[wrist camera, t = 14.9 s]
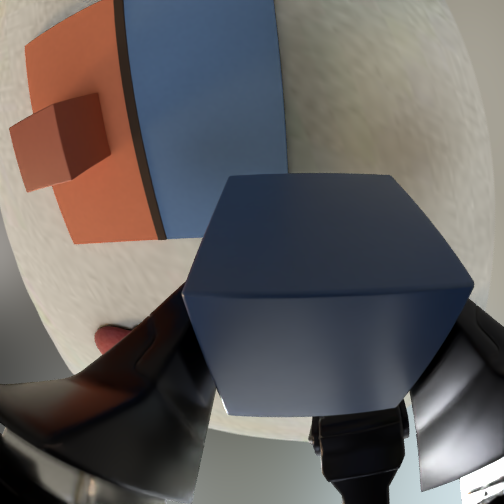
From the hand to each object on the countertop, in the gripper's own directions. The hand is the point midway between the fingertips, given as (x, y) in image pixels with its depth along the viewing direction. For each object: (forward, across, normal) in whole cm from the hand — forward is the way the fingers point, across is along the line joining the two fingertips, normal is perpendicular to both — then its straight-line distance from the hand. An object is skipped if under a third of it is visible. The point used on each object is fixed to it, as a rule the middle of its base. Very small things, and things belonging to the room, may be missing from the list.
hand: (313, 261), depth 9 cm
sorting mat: (+12, +11, -4) cm, 16 cm away
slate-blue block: (+1, 0, 0) cm, 1 cm away
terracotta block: (+11, +16, -4) cm, 19 cm away
